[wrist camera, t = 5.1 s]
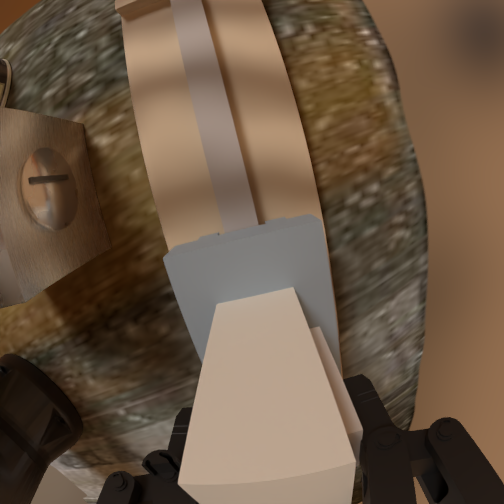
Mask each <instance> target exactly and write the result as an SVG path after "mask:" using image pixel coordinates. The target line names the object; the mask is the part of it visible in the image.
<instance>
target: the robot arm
mask: <svg viewBox="0 0 504 504" xmlns="http://www.w3.org/2000/svg"><path fill="white" fill-rule="evenodd" d="M310 332H311V335H312V337H313V340H314V343H315V346H316V348H317V351H318V354H319V356H320V359H321V362H322V365H323V367H324V370H325V373H326V376H327V378H328V381H329V384H330V387H331V390H332V392H333V395H334V398H335V401H336V404H337V407H338V410H339V412H340V415H341V418H342V421H343V424H344V427H345V430H346V433H347V436H348V439H349V442H350V445H351V448H352V451H353V454H354V457H355V460H356V466H355V467H357V466H359V462H360V464H361V467H362V470H363V472H362V477H361V482H362V498H363V504H417V503H416V494H415V487H414V481H413V477H416V478H417V480H418V482H419V484H420V486H421V488H422V490H423V492H424V494H425V496H426V498H427V500H428V502H429V504H504V484H503V482H502V481H501V479H500V478H499V476H498V475H497V473H496V472H495V470H494V469H493V467H492V466H491V464H490V463H489V461H488V460H487V459H486V457H485V456H484V454H483V453H482V452H481V450H480V449H479V447H478V446H477V445H476V443H475V442H474V440H473V439H472V438H471V436H470V435H469V434H468V432H467V431H466V430H465V428H464V427H463V426H462V424H461V423H460V422H459V421H457V420H456V419H454V418H451V417H448V418H441V419H438V420H437V421H435V422H434V423H433V424H432V425H431V426H430V428H429V429H423V430H416V431H405V430H401V429H399V428H397V427H396V426H395V425H394V424H393V422H392V421H391V419H390V417H389V415H388V413H387V411H386V409H385V407H384V405H383V403H382V401H381V400H380V398H379V396H378V394H377V392H376V391H375V388H374V386H373V384H372V383H371V381H370V380H369V379H368V378H366V377H365V376H364V375H362V374H360V375H357V376H354V377H350V378H347V379H344V380H342V377H341V375H340V373H339V370H338V368H337V366H336V363H335V361H334V359H333V356H332V354H331V352H330V349H329V347H328V345H327V343H326V340H325V338H324V336H323V333H322V331H321V329H320V327H315V328H311V329H310ZM192 410H193V407H189V408H182V410H181V411H180V412H179V413H178V415H177V416H176V419H175V423H174V427H173V431H172V435H171V439H170V442H169V446H168V450H156V451H153V452H151V453H150V454H148V455H147V456H146V457H145V458H144V460H143V462H142V466H143V467H144V468H145V469H146V470H147V471H148V472H149V473H150V474H146V475H141V476H135V477H133V476H132V475H130V474H129V473H127V472H125V471H117V472H114V473H112V474H111V475H110V476H108V478H107V479H106V481H105V484H104V486H103V489H102V491H101V493H100V496H99V498H98V501H97V503H96V504H199V503H198V502H197V501H196V500H195V499H194V498H192V497H191V496H190V495H189V494H188V493H187V492H186V491H185V490H183V489H182V488H181V487H180V486H179V485H178V478H179V473H180V468H181V463H182V458H183V453H184V448H185V443H186V438H187V433H188V429H189V424H190V419H191V414H192ZM82 431H83V425H82V421H81V419H80V417H79V415H78V413H77V411H76V410H75V408H74V407H73V405H72V404H71V403H70V401H69V400H68V399H67V397H66V396H65V395H64V394H63V393H62V392H61V391H60V389H59V388H58V387H57V386H56V385H55V384H54V383H53V382H52V381H51V380H50V379H49V378H48V377H47V376H45V375H44V374H43V373H42V372H41V371H40V370H38V369H37V368H36V367H35V366H33V365H32V364H31V363H29V362H28V361H26V360H24V359H23V358H21V357H19V356H16V355H13V354H5V355H3V356H2V357H1V358H0V504H30V503H31V501H32V499H33V497H34V495H35V493H36V490H37V488H38V486H39V484H40V482H41V480H42V478H43V476H44V473H45V472H46V470H47V468H48V466H49V465H50V463H51V462H53V461H54V460H55V459H57V458H58V457H59V456H61V455H62V454H63V453H65V452H66V451H67V450H68V449H70V448H71V447H72V446H74V445H75V444H76V442H77V441H78V439H79V437H80V435H81V434H82ZM361 482H360V483H361Z"/></svg>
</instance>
